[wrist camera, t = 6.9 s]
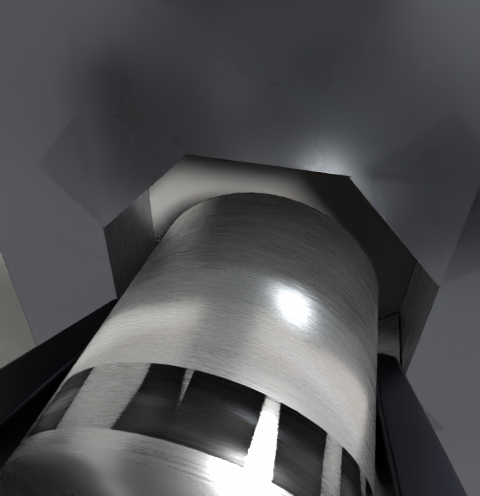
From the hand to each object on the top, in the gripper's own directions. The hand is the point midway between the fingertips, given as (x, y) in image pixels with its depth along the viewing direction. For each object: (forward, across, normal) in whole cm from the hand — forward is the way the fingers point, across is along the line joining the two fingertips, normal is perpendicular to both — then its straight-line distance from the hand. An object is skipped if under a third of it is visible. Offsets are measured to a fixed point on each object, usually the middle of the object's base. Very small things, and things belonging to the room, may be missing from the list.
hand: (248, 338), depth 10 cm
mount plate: (+4, 0, 0) cm, 4 cm away
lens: (+2, 0, 0) cm, 2 cm away
